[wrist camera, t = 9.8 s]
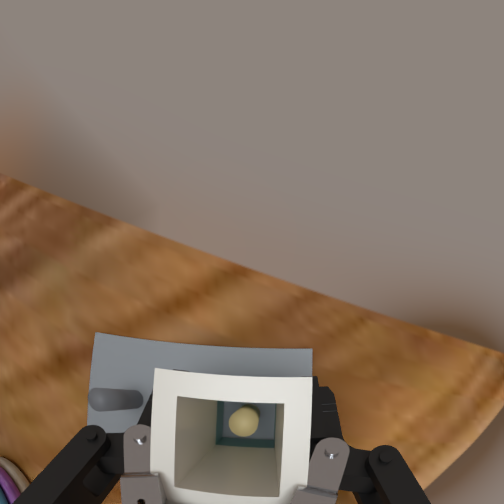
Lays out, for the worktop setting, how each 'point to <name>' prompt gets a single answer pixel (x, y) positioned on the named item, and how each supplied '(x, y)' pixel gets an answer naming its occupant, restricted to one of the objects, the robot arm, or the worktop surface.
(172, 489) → the sleeve
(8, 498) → the stacking toy
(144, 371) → the pin board
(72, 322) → the worktop surface
